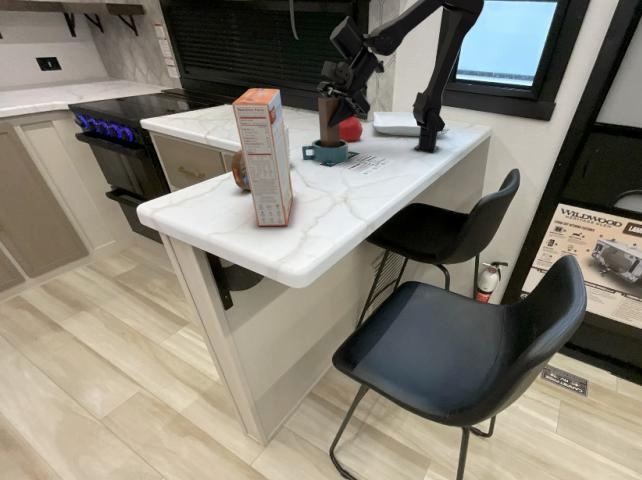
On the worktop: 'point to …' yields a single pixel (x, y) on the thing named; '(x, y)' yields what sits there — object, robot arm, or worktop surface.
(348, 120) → the pomegranate
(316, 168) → the worktop surface
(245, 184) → the tin
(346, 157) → the teal mug
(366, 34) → the robot arm
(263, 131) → the cracker box
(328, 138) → the block
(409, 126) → the square plate
